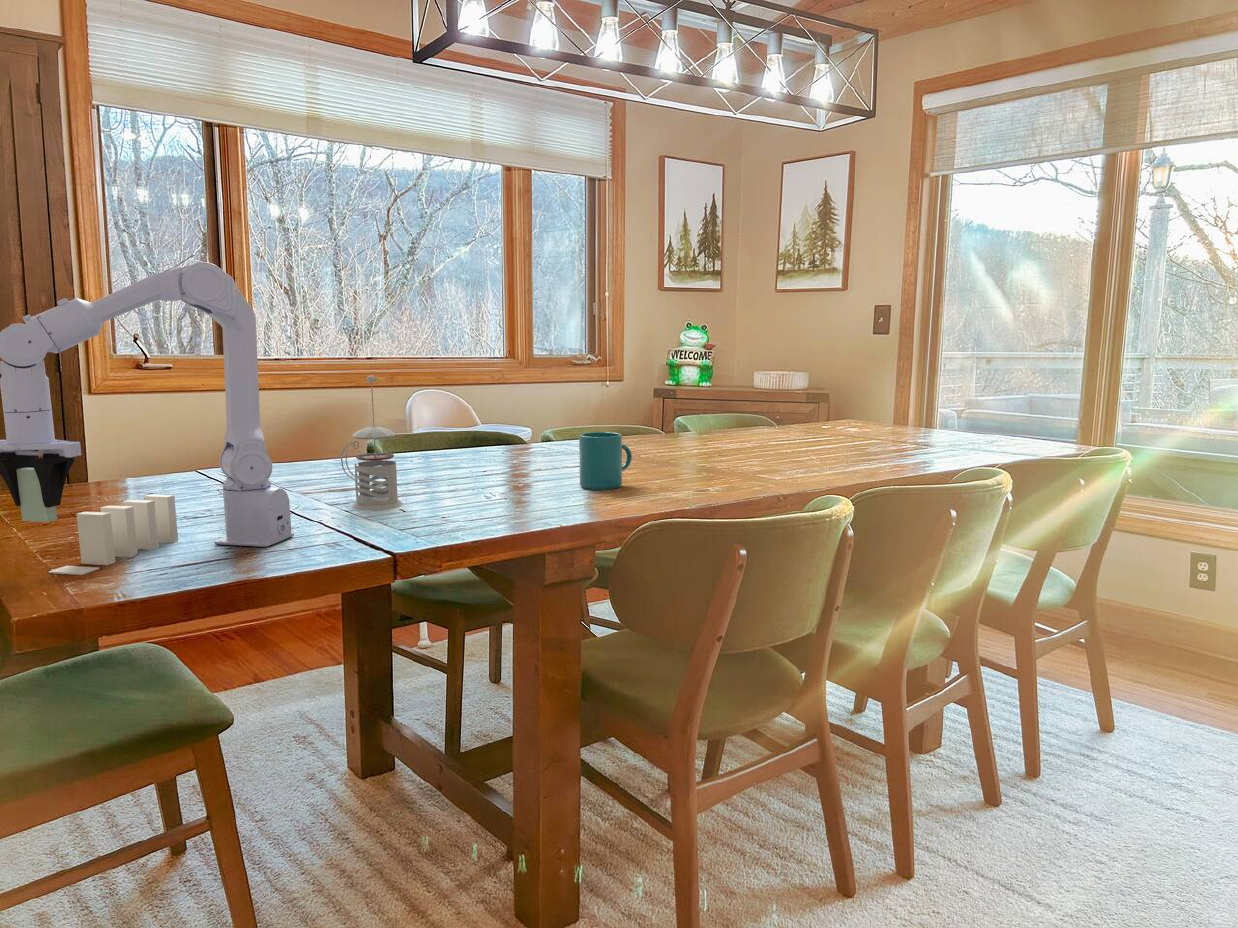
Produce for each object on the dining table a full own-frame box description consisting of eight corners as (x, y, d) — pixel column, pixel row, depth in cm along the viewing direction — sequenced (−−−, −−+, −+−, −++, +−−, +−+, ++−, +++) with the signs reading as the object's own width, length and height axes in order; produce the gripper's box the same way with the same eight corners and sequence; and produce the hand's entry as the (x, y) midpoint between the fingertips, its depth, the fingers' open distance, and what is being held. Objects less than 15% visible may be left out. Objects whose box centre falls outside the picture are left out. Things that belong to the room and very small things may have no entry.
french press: (389, 511, 166) (383, 377, 162) (332, 509, 168) (325, 376, 164) (412, 501, 176) (406, 374, 172) (357, 499, 178) (351, 373, 174)
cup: (641, 486, 190) (641, 434, 188) (592, 492, 184) (591, 438, 182) (620, 480, 198) (620, 430, 196) (572, 485, 192) (571, 433, 190)
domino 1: (31, 518, 129) (26, 467, 128) (57, 519, 128) (51, 468, 127) (22, 520, 127) (16, 469, 126) (48, 522, 126) (42, 470, 125)
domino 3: (112, 553, 137) (108, 505, 136) (137, 554, 136) (133, 506, 135) (105, 555, 135) (100, 507, 134) (129, 557, 134) (125, 508, 133)
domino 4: (134, 546, 141) (130, 499, 140) (158, 547, 140) (154, 500, 139) (126, 548, 140) (122, 501, 138) (151, 549, 139) (146, 502, 138)
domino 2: (90, 560, 132) (85, 511, 131) (115, 562, 132) (110, 512, 130) (81, 563, 131) (76, 513, 130) (107, 565, 130) (102, 514, 129)
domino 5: (154, 539, 145) (150, 494, 144) (178, 540, 145) (174, 495, 143) (147, 541, 144) (143, 496, 143) (171, 542, 143) (167, 497, 142)
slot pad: (99, 568, 128) (99, 567, 128) (81, 575, 125) (81, 573, 125) (66, 566, 129) (66, 565, 129) (48, 572, 126) (48, 571, 126)
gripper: (-41, 412, 123) (-30, 508, 125) (47, 414, 120) (58, 513, 122) (4, 407, 130) (14, 499, 132) (88, 409, 127) (98, 503, 129)
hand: (38, 505), depth 127 cm, fingers closed on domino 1, 4 cm apart
